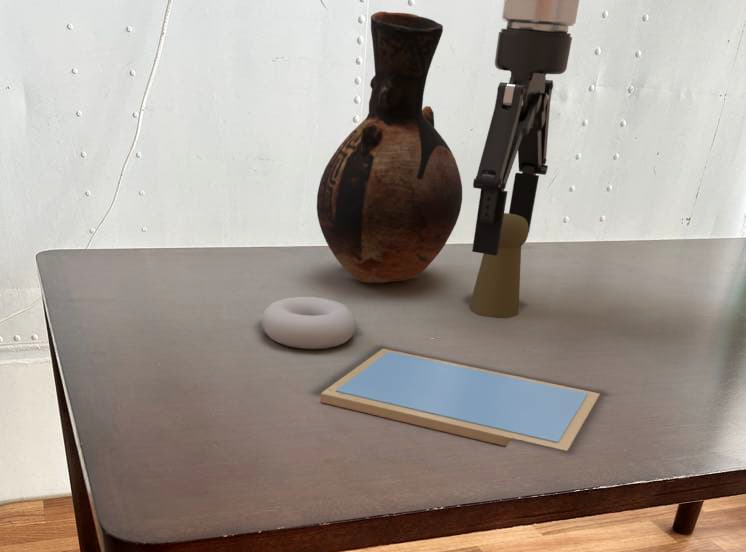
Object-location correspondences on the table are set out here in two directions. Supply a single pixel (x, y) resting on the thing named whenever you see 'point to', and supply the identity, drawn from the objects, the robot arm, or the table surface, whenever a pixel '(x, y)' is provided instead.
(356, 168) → the ceramic vessel
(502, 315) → the olive pawn piece
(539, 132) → the robot arm
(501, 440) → the tablet
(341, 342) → the donut
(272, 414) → the table surface
